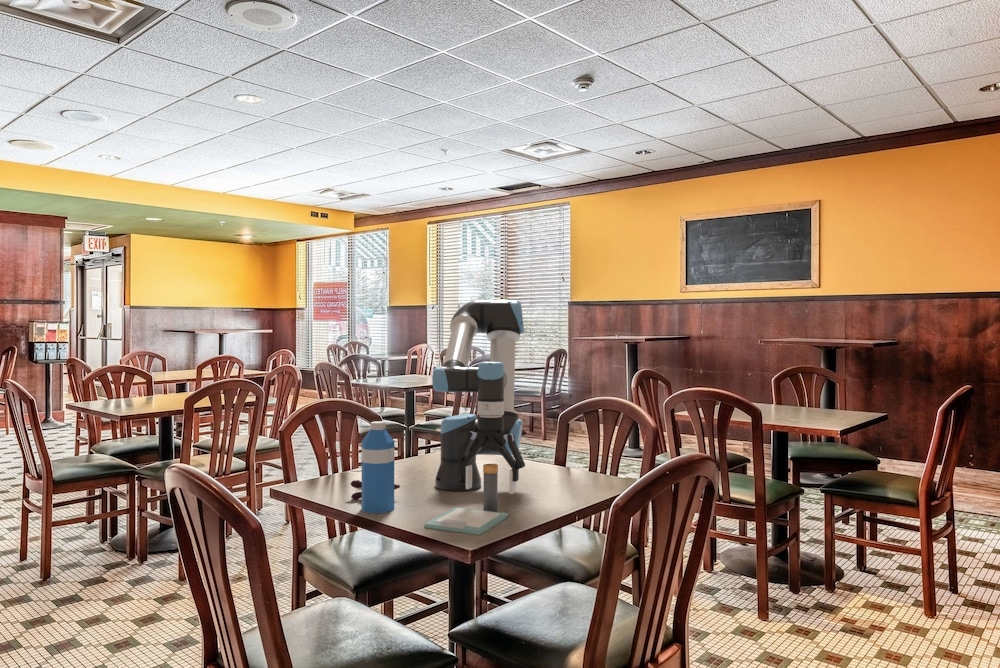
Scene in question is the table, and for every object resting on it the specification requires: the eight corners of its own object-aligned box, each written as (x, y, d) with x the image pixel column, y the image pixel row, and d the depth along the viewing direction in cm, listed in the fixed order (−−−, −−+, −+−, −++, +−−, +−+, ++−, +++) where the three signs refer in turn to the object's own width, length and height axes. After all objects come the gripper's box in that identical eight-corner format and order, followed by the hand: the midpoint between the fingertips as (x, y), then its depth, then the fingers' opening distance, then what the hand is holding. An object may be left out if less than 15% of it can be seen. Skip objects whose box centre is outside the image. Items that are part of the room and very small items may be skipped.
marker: (486, 508, 197) (486, 463, 196) (500, 509, 195) (500, 464, 195) (480, 511, 193) (480, 465, 193) (494, 513, 191) (494, 467, 191)
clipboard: (455, 510, 194) (455, 502, 194) (507, 516, 187) (507, 508, 187) (424, 527, 177) (424, 519, 177) (479, 535, 171) (479, 526, 171)
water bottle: (396, 505, 200) (396, 420, 199) (392, 513, 190) (392, 424, 190) (364, 505, 199) (364, 420, 199) (358, 513, 190) (358, 424, 190)
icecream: (401, 475, 211) (353, 479, 211) (397, 474, 204) (347, 478, 204) (402, 498, 209) (354, 502, 209) (398, 497, 202) (348, 502, 202)
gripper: (445, 415, 195) (445, 489, 195) (526, 419, 185) (526, 497, 185) (457, 412, 202) (457, 484, 202) (536, 416, 192) (536, 491, 192)
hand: (490, 490), depth 193 cm, fingers open, 13 cm apart
